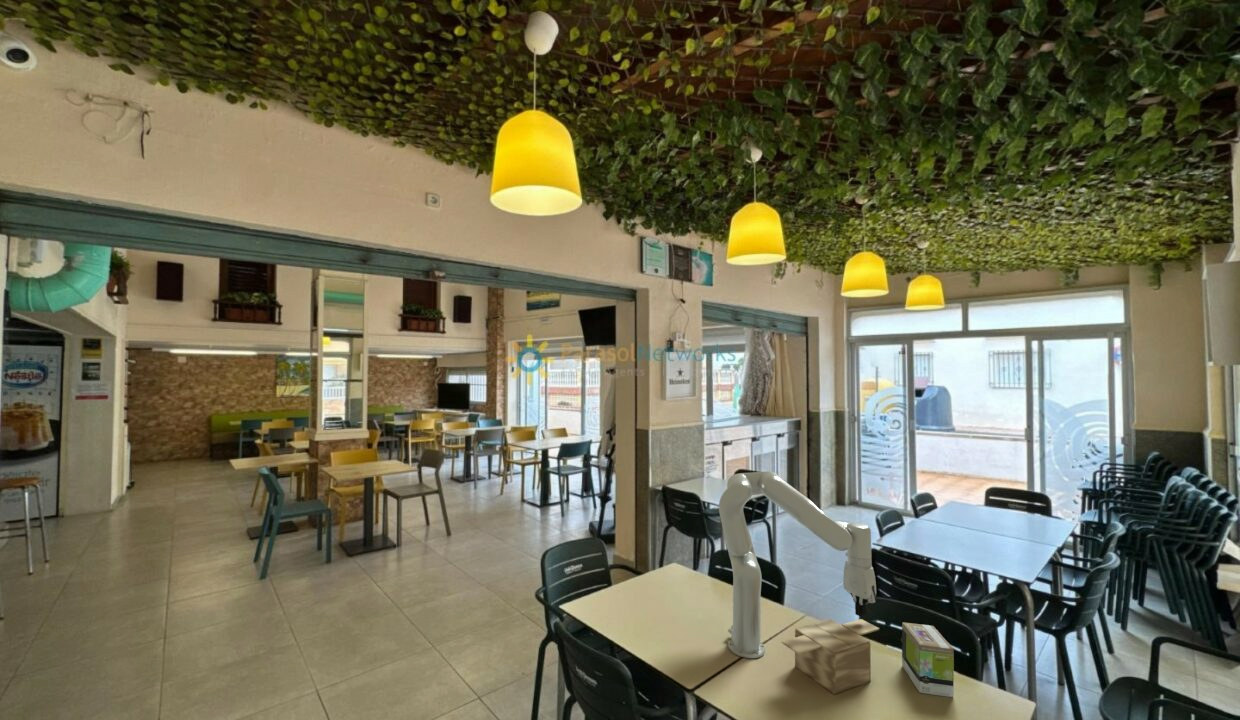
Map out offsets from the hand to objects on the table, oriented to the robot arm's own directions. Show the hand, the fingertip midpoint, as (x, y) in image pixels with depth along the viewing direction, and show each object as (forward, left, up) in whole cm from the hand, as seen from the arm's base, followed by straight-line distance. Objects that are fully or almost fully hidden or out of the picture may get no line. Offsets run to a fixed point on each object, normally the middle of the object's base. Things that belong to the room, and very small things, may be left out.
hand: (860, 614), depth 168 cm
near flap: (+2, -24, -3) cm, 24 cm away
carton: (+2, -16, -15) cm, 22 cm away
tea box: (+17, +9, -16) cm, 25 cm away
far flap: (+2, -7, -3) cm, 8 cm away
